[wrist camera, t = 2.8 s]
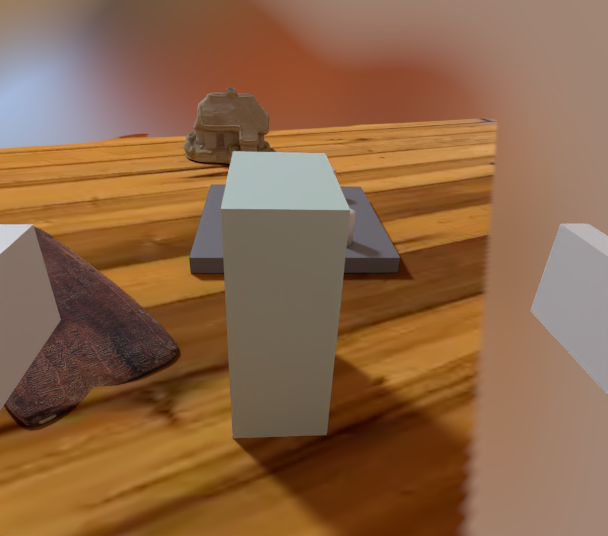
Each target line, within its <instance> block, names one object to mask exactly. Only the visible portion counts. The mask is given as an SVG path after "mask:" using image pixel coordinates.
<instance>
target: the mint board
mask: <svg viewBox="0 0 608 536" xmlns="http://www.w3.org/2000/svg"><path fill="white" fill-rule="evenodd" d="M349 218H350V208H349V206H348V204H347V201H346V199H345V197H344V195H343V192H342V190H341V188H340V186H339V183H338V181H337V179H336V177H335V174H334V172H333V170H332V168H331V165H330V163H329V161H328V158H327V156H326V154H325V153H289V152H245V151H233V153H232V158H231V162H230V167H229V172H228V177H227V181H226V186H225V191H224V196H223V200H222V205H221V223H222V242H223V261H224V280H225V299H226V318H227V337H228V356H229V375H230V393H231V412H232V431H233V438H260V437H286V436H313V435H327V428H328V419H329V409H330V400H331V390H332V381H333V371H334V361H335V352H336V342H337V333H338V323H339V314H340V304H341V295H342V285H343V275H344V266H345V256H346V247H347V237H348V228H349Z"/></svg>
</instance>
